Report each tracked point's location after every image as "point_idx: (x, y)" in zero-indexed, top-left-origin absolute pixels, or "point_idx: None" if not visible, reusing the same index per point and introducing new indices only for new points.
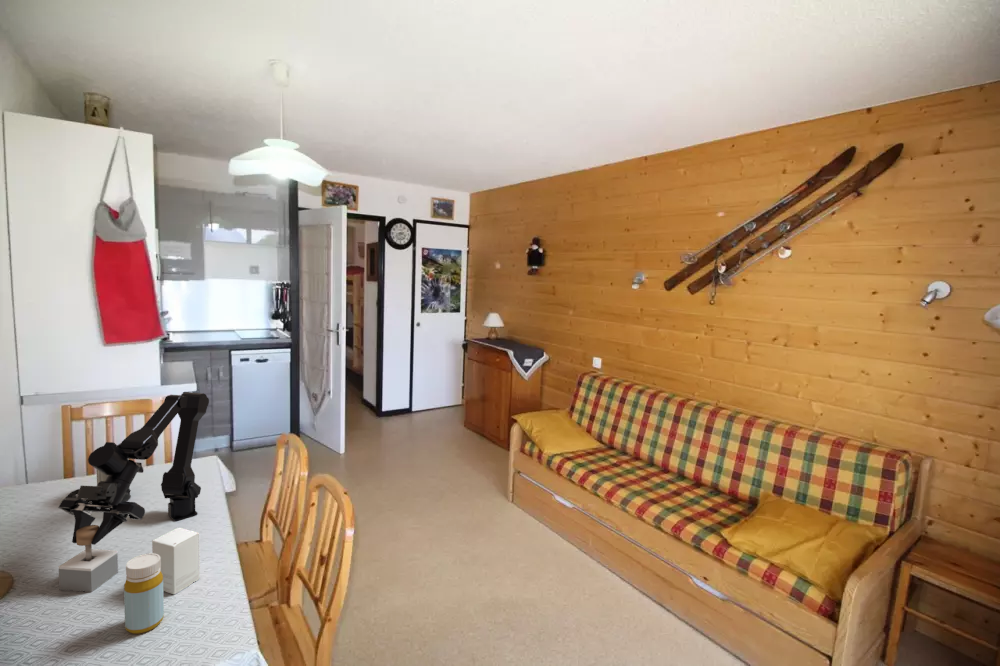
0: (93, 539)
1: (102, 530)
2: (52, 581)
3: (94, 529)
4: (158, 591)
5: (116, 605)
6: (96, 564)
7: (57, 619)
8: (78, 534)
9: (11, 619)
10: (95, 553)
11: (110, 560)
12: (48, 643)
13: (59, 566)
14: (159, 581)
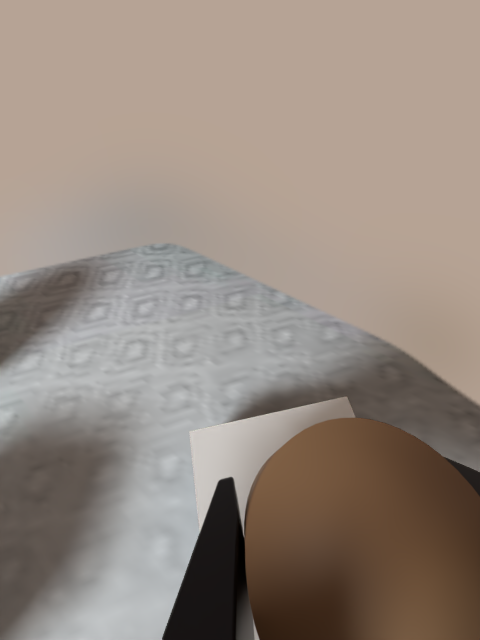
0: (227, 500)
1: (165, 638)
2: None
3: (294, 600)
4: None
5: (68, 417)
6: (199, 474)
7: (183, 326)
8: (349, 421)
9: (285, 298)
10: None
11: None
12: (130, 275)
13: (342, 397)
14: None
